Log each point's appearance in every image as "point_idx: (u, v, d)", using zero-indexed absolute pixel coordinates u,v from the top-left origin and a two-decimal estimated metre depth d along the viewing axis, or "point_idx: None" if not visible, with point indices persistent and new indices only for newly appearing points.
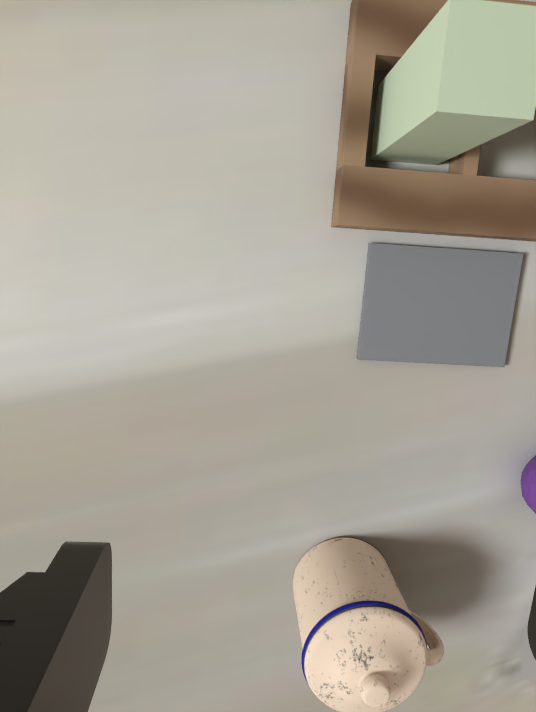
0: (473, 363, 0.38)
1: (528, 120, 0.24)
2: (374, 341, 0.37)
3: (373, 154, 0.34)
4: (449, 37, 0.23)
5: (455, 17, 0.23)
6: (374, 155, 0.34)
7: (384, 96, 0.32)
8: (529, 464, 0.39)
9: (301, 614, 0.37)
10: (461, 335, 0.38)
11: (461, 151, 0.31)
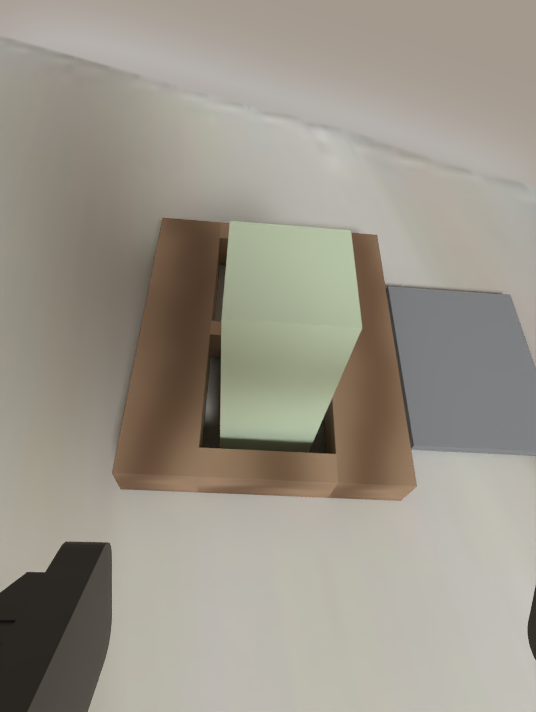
0: (518, 323, 0.33)
1: (350, 235, 0.20)
2: (534, 433, 0.28)
3: (306, 448, 0.26)
4: (270, 317, 0.17)
5: (245, 312, 0.17)
6: (309, 446, 0.26)
7: (245, 435, 0.25)
8: None
9: None
10: (491, 337, 0.32)
11: None
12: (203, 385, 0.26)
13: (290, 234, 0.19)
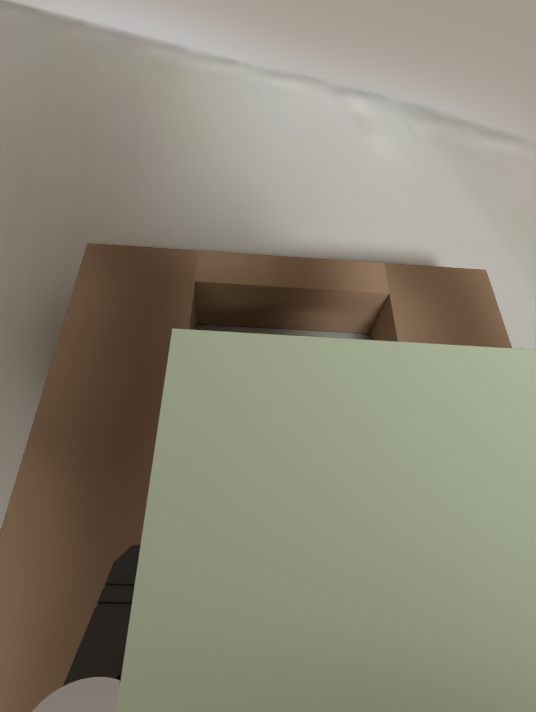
0: None
1: None
2: None
3: None
4: None
5: None
6: None
7: None
8: None
9: None
10: None
11: None
12: None
13: (475, 399, 0.04)
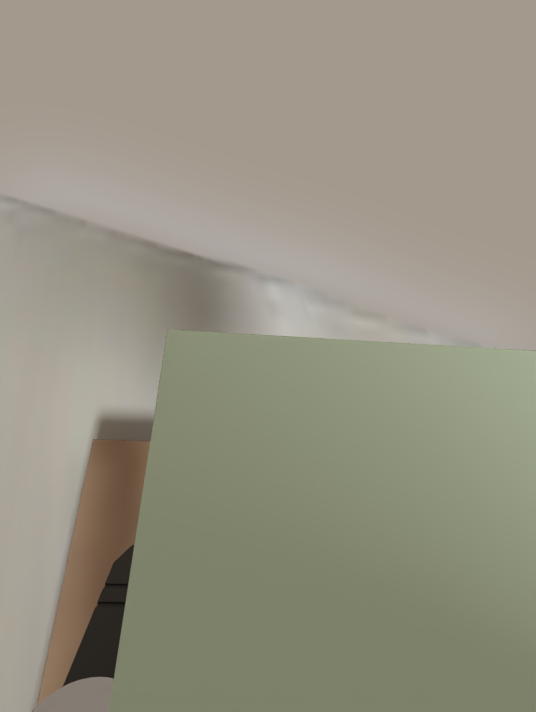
0: None
1: None
2: None
3: None
4: None
5: None
6: None
7: None
8: None
9: None
10: None
11: None
12: None
13: (471, 400, 0.04)
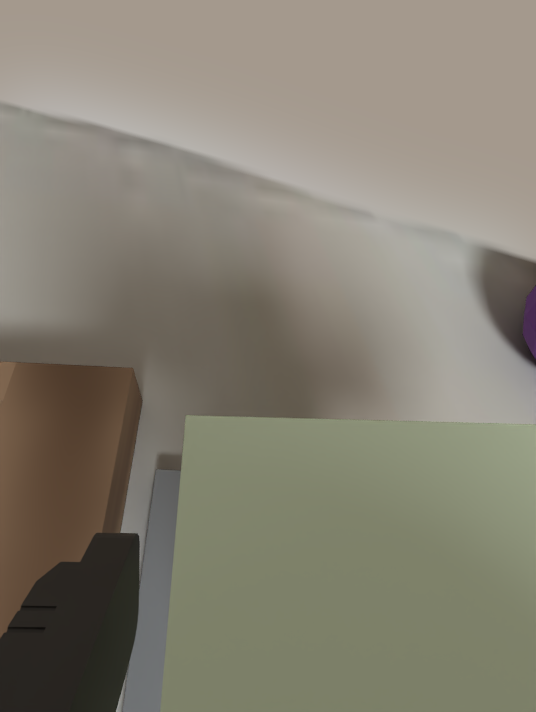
0: None
1: None
2: None
3: None
4: None
5: None
6: None
7: None
8: None
9: None
10: None
11: None
12: None
13: (424, 468, 0.05)
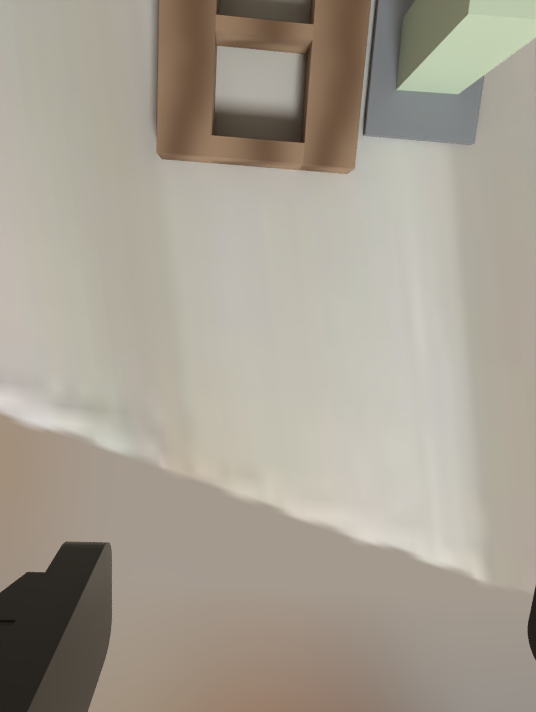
0: None
1: None
2: (458, 126, 0.38)
3: (459, 91, 0.37)
4: (499, 12, 0.26)
5: (484, 8, 0.25)
6: (462, 89, 0.37)
7: (422, 81, 0.35)
8: None
9: None
10: None
11: None
12: (212, 82, 0.35)
13: None
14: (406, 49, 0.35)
